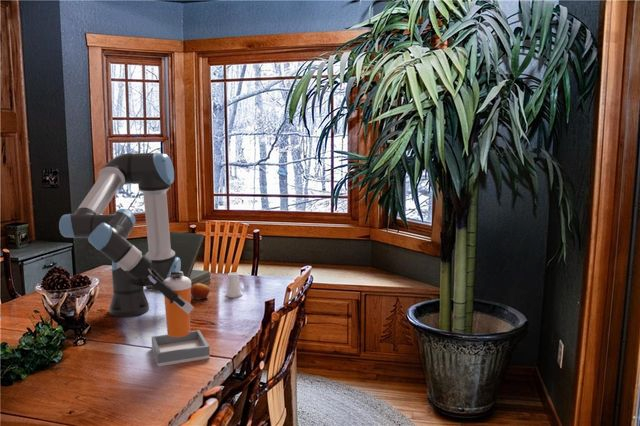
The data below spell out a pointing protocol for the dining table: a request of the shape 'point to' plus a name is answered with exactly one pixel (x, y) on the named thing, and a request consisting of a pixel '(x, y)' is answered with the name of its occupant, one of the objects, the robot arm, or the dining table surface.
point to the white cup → (233, 285)
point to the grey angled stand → (188, 256)
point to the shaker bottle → (174, 314)
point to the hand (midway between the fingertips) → (188, 306)
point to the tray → (180, 348)
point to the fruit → (200, 291)
